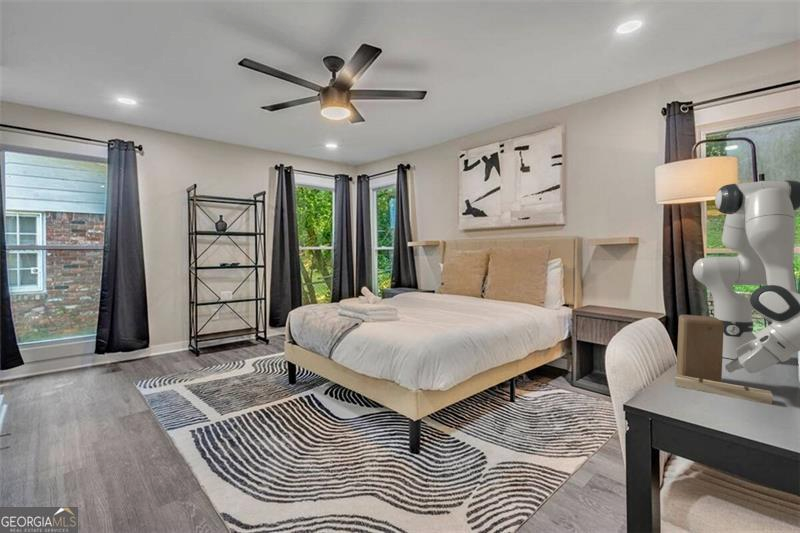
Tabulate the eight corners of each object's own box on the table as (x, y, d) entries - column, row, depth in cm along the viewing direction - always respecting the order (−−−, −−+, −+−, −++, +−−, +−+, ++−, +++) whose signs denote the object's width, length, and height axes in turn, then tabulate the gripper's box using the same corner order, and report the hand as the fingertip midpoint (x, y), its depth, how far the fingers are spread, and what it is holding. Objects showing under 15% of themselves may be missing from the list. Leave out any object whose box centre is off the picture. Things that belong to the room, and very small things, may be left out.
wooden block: (722, 386, 112) (724, 321, 111) (681, 381, 117) (683, 318, 116) (713, 377, 120) (716, 316, 119) (676, 371, 125) (678, 313, 124)
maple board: (675, 382, 115) (676, 374, 115) (770, 399, 102) (770, 390, 102) (674, 385, 112) (675, 377, 112) (772, 404, 99) (772, 395, 99)
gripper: (759, 328, 115) (717, 353, 122) (768, 341, 100) (718, 368, 106) (778, 345, 113) (734, 369, 119) (790, 360, 97) (738, 387, 104)
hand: (727, 369), depth 113 cm, fingers closed
